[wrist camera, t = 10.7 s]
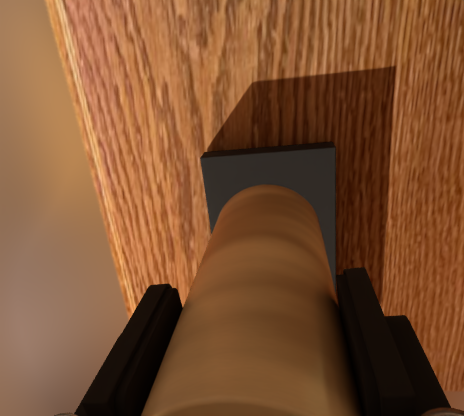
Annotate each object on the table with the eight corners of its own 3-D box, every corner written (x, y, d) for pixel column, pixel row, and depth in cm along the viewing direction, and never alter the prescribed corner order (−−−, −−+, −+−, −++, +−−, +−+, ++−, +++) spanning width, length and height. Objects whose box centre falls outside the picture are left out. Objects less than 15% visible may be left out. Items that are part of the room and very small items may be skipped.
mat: (204, 151, 20) (199, 157, 19) (332, 141, 19) (335, 146, 18) (231, 345, 25) (229, 358, 24) (333, 345, 24) (336, 359, 23)
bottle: (200, 218, 17) (44, 532, 6) (272, 155, 15) (246, 420, 4) (265, 280, 18) (238, 656, 7) (338, 227, 16) (465, 604, 5)
